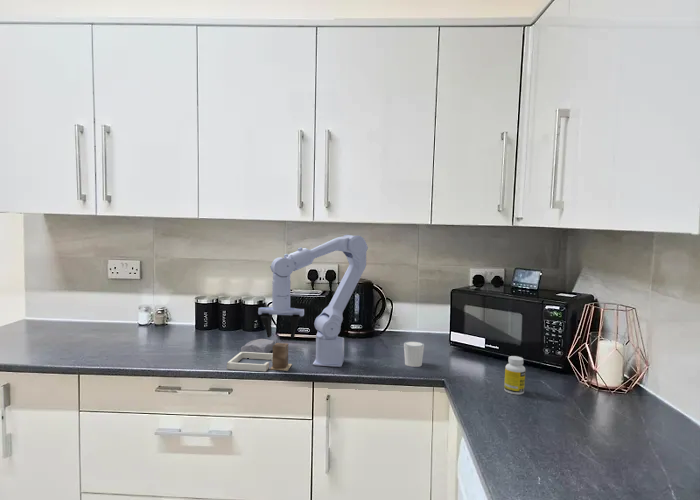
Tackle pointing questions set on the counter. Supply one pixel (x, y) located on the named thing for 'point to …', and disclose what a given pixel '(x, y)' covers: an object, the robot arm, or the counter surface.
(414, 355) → the shot glass
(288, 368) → the cork trivet
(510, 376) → the supplement bottle
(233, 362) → the white open square frame
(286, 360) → the walnut block
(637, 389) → the counter surface
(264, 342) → the stone block
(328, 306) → the robot arm
